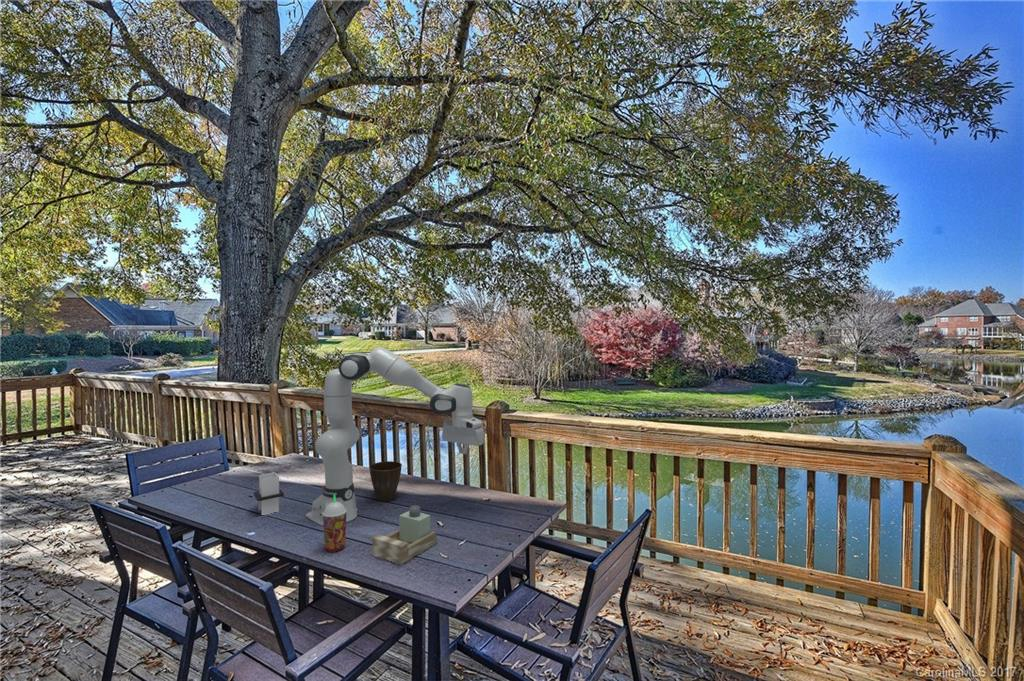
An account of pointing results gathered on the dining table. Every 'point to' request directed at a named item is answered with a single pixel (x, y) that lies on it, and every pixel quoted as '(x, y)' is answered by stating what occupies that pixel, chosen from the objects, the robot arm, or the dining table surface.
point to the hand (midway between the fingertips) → (462, 453)
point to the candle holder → (268, 493)
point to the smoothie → (334, 526)
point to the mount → (400, 547)
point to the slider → (413, 525)
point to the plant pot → (385, 479)
